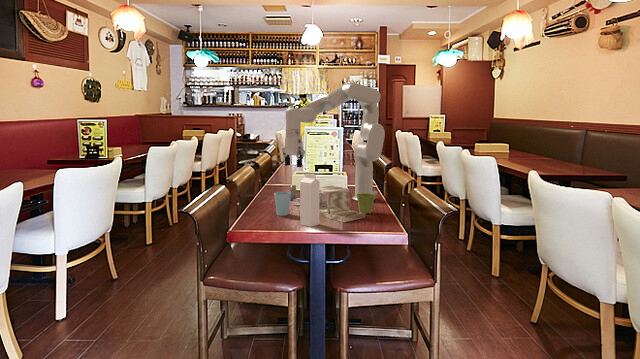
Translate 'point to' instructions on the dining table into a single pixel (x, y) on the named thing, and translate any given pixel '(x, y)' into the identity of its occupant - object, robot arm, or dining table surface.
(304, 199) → the milk
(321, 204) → the slider
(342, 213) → the tunnel
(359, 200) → the plant pot
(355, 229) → the dining table surface
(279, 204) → the cup
